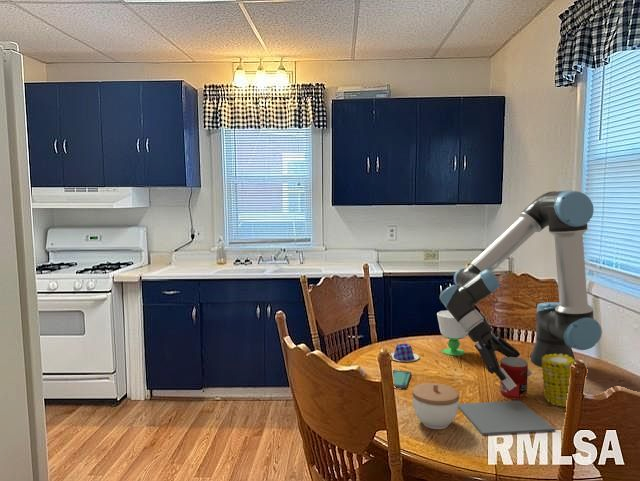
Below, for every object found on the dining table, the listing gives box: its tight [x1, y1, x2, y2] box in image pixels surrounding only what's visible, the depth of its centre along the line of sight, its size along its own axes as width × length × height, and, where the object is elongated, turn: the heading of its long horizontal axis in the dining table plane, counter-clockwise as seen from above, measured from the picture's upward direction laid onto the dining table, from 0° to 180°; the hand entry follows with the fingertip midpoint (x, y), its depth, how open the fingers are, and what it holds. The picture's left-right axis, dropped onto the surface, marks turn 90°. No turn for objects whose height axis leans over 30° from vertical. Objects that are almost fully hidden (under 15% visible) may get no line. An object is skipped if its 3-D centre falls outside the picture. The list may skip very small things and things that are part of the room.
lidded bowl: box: [411, 382, 460, 430], centre depth 129 cm, size 13×13×11 cm
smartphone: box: [392, 369, 412, 390], centre depth 161 cm, size 7×1×15 cm
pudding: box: [391, 343, 420, 363], centre depth 185 cm, size 12×12×5 cm
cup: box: [436, 309, 468, 357], centre depth 190 cm, size 14×14×16 cm
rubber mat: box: [458, 400, 556, 436], centre depth 132 cm, size 20×18×1 cm
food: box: [541, 354, 577, 408], centre depth 142 cm, size 15×12×10 cm
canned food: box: [499, 356, 529, 400], centre depth 148 cm, size 8×8×11 cm
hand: (521, 382), depth 146 cm, fingers open, 13 cm apart
